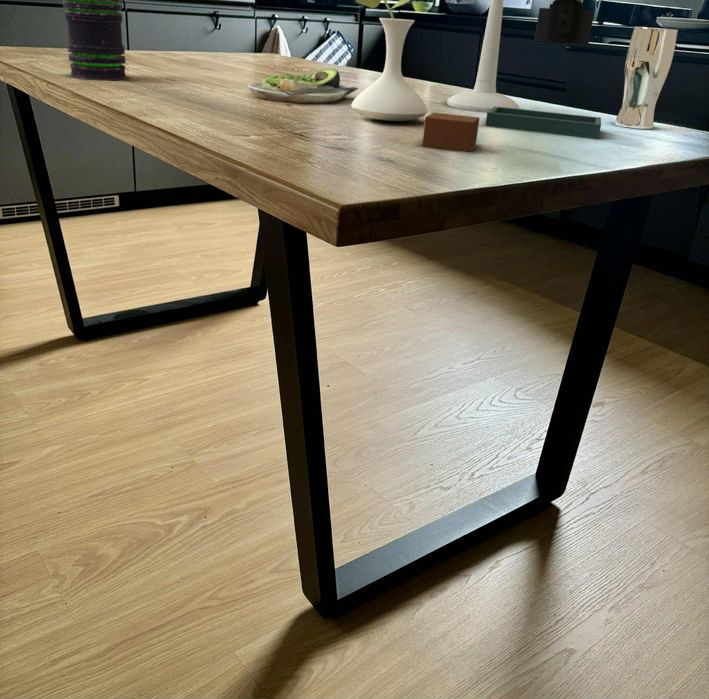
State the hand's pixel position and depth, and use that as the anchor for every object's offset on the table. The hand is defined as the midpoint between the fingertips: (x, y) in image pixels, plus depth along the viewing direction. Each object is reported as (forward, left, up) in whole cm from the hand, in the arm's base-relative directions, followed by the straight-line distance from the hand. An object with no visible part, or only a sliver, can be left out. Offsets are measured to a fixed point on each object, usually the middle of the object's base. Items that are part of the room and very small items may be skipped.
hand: (562, 38), depth 83 cm
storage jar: (+83, -27, -14) cm, 88 cm away
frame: (+2, -24, -13) cm, 27 cm away
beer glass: (-12, -39, -14) cm, 43 cm away
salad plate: (+44, -30, -14) cm, 54 cm away
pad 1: (+12, +1, -13) cm, 18 cm away
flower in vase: (+25, -15, -14) cm, 32 cm away
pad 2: (0, 0, 0) cm, 0 cm away
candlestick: (+14, -43, -14) cm, 47 cm away
